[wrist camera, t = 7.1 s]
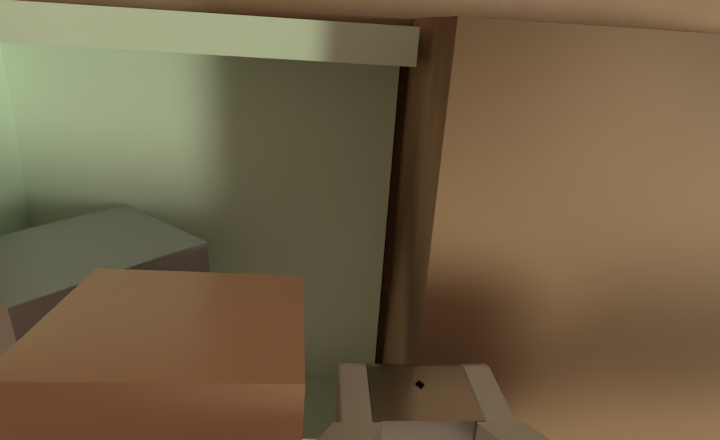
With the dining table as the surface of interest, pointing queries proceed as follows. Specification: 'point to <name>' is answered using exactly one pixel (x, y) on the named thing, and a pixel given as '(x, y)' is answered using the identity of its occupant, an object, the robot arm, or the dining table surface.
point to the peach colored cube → (161, 360)
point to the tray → (216, 147)
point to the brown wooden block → (564, 222)
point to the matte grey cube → (83, 260)
